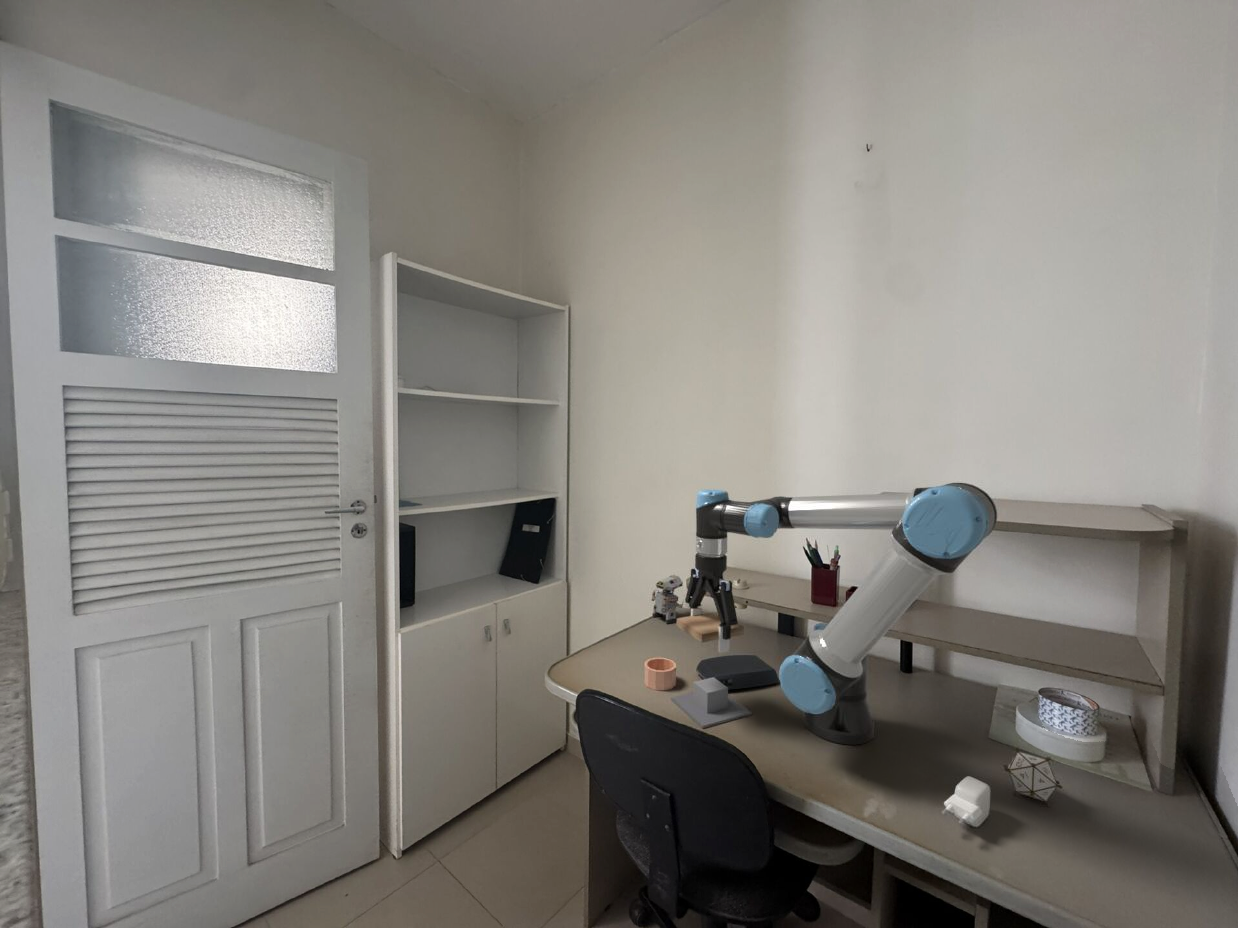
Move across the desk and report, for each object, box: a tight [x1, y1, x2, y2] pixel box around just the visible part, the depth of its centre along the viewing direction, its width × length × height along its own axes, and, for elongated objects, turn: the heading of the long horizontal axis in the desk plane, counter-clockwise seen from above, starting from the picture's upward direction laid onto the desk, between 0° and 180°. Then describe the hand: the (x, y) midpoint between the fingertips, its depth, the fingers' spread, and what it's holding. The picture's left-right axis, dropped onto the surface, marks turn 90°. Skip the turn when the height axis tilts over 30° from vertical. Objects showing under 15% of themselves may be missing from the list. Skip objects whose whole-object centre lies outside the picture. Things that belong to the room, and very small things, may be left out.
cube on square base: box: [670, 677, 752, 729], centre depth 127 cm, size 14×14×6 cm
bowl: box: [643, 657, 677, 691], centre depth 139 cm, size 8×8×5 cm
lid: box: [676, 611, 745, 644], centre depth 126 cm, size 11×12×2 cm
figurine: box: [651, 574, 684, 625], centre depth 187 cm, size 9×12×15 cm
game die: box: [1002, 746, 1064, 808], centre depth 96 cm, size 9×8×10 cm
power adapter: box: [941, 775, 991, 828], centre depth 89 cm, size 11×5×6 cm, turn 126°
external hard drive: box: [695, 653, 780, 690], centre depth 142 cm, size 13×19×4 cm
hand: (709, 642), depth 127 cm, fingers closed on lid, 11 cm apart
